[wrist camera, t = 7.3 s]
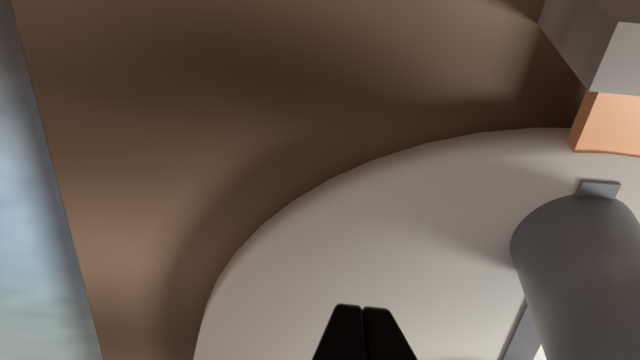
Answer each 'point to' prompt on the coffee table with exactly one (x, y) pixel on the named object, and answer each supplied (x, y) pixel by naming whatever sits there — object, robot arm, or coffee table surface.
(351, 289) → the dial
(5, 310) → the coffee table surface
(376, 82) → the stand plate
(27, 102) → the coffee table surface
